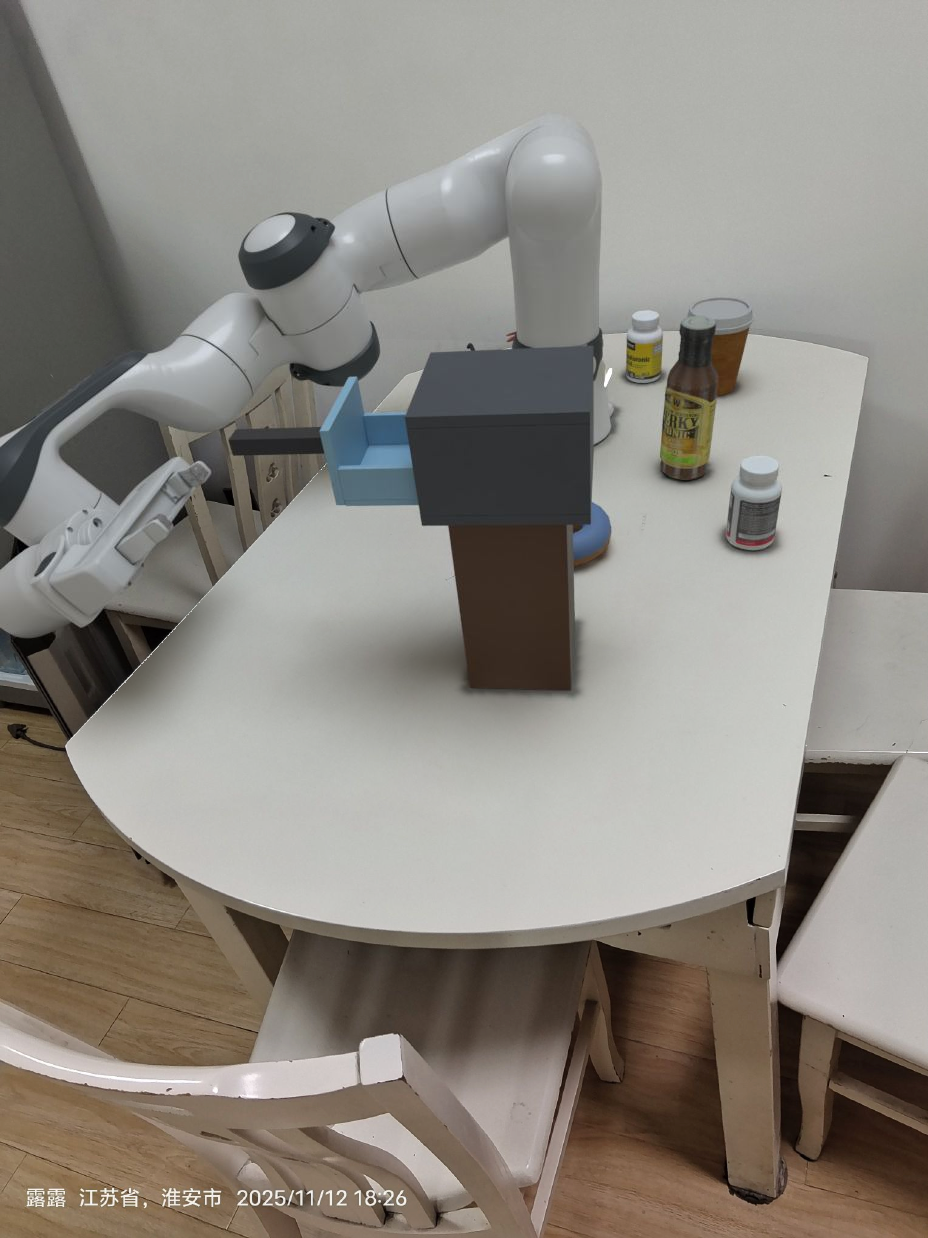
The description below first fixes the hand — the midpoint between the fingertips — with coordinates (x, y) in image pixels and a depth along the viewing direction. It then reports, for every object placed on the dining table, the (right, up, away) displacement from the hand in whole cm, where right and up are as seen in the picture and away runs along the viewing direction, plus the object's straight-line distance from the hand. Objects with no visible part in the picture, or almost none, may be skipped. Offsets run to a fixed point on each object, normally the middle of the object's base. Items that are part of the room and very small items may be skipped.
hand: (185, 495), depth 81 cm
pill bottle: (+59, -2, +19) cm, 62 cm away
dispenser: (+32, -15, +7) cm, 37 cm away
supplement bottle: (+54, +26, +54) cm, 81 cm away
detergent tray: (+18, +1, -4) cm, 18 cm away
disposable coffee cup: (+64, +23, +49) cm, 84 cm away
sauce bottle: (+55, +8, +31) cm, 64 cm away
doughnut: (+39, -3, +21) cm, 44 cm away
